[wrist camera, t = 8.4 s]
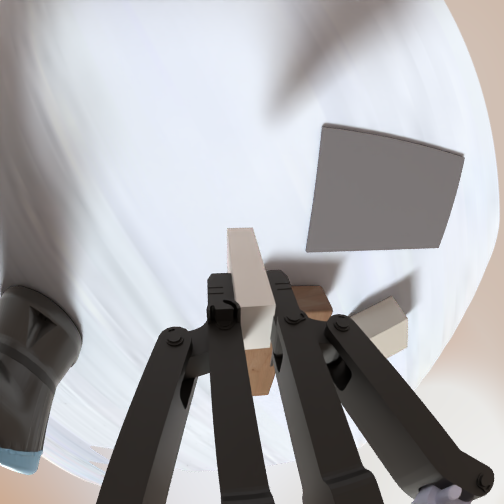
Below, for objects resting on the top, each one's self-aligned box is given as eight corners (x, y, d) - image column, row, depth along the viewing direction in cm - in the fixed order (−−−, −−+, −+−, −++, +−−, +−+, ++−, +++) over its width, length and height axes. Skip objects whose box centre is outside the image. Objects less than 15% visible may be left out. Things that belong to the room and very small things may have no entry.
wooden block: (334, 310, 28) (297, 393, 38) (322, 284, 32) (291, 370, 42) (252, 313, 27) (238, 397, 36) (247, 284, 31) (235, 373, 40)
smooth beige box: (351, 346, 41) (362, 370, 37) (342, 319, 37) (355, 345, 32) (393, 325, 40) (407, 347, 36) (391, 294, 36) (407, 318, 31)
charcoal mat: (305, 250, 29) (306, 252, 29) (322, 126, 22) (323, 127, 22) (436, 246, 32) (438, 247, 31) (462, 156, 25) (464, 157, 24)
